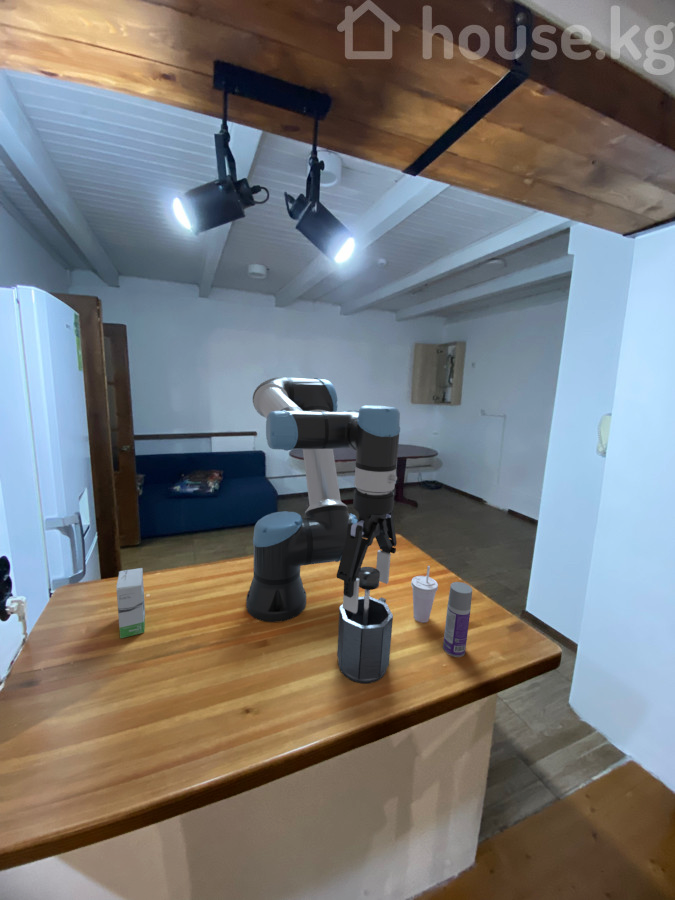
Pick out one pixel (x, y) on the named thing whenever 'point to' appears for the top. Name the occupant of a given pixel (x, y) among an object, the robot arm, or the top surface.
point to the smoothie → (423, 596)
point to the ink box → (131, 602)
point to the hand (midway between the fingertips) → (367, 594)
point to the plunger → (368, 587)
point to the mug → (365, 641)
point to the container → (457, 619)
